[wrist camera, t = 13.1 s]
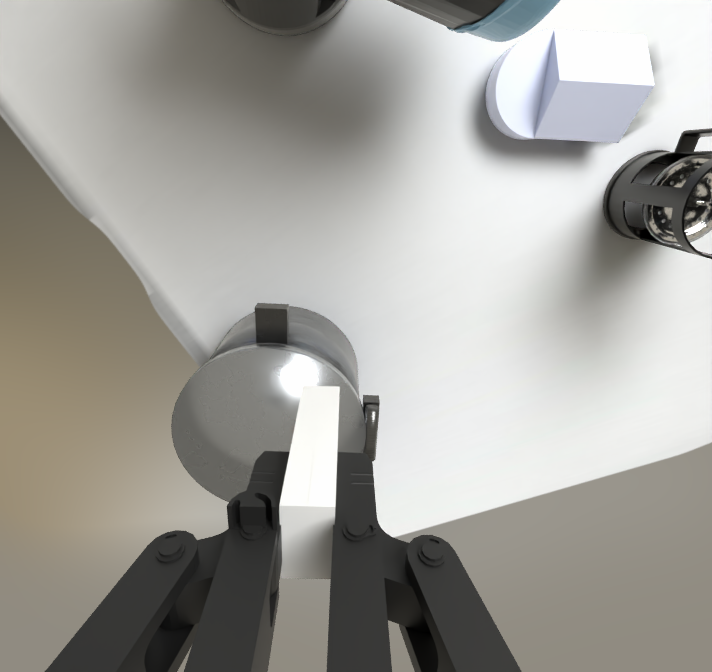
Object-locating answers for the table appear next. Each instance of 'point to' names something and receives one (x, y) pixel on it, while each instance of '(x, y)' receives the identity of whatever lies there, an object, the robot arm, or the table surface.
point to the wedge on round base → (570, 85)
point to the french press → (666, 195)
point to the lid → (257, 413)
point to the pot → (297, 338)
